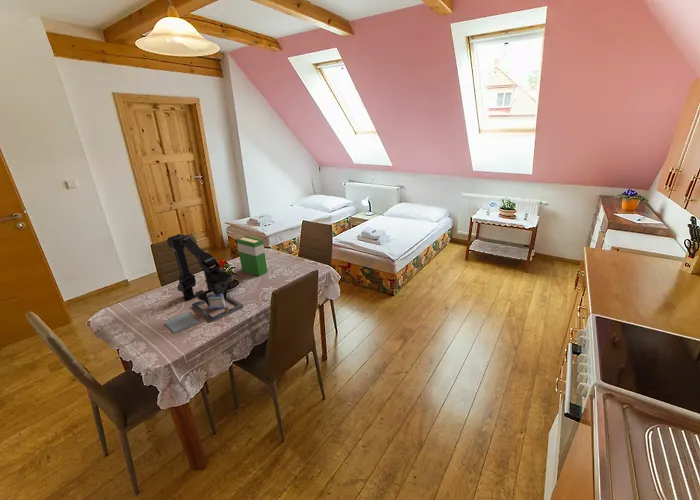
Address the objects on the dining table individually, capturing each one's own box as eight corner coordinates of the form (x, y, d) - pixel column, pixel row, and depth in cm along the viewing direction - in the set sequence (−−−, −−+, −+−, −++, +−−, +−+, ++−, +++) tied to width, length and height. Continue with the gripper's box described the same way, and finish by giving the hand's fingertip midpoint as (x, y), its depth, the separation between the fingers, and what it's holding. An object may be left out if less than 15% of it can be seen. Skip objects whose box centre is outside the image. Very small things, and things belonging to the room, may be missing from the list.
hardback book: (242, 270, 224) (236, 239, 215) (250, 266, 229) (245, 235, 220) (259, 276, 215) (254, 243, 206) (267, 272, 220) (262, 239, 211)
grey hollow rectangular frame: (192, 306, 182) (190, 301, 181) (222, 293, 194) (221, 288, 193) (211, 322, 167) (210, 316, 165) (243, 307, 179) (242, 301, 178)
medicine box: (209, 310, 178) (206, 296, 174) (210, 306, 182) (207, 292, 178) (224, 307, 179) (221, 294, 176) (225, 303, 183) (222, 290, 180)
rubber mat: (164, 323, 167) (164, 322, 167) (188, 313, 175) (187, 312, 175) (174, 333, 159) (174, 331, 159) (198, 322, 167) (197, 321, 167)
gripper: (201, 289, 162) (207, 315, 168) (234, 276, 175) (239, 301, 181) (191, 283, 169) (198, 308, 175) (224, 271, 182) (229, 294, 188)
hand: (216, 303), depth 180 cm, fingers open, 9 cm apart
